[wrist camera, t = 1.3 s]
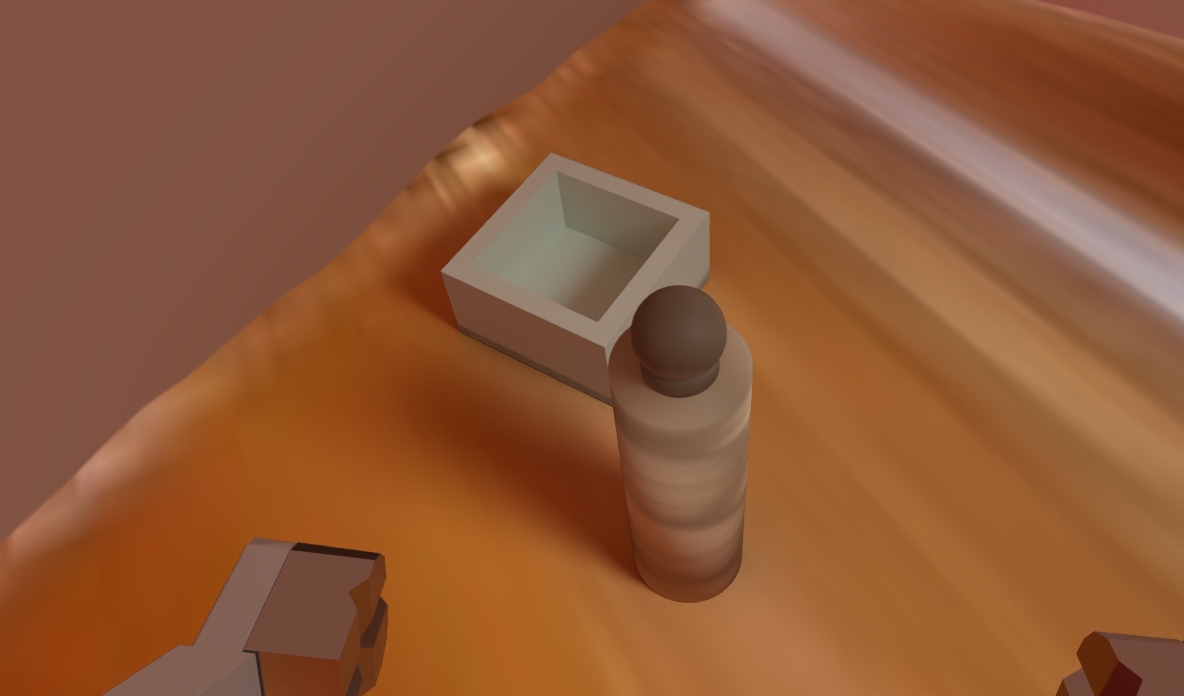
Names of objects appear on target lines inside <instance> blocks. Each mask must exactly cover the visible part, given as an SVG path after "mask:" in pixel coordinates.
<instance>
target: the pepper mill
mask: <svg viewBox="0 0 1184 696" xmlns="http://www.w3.org/2000/svg"><path fill="white" fill-rule="evenodd" d="M608 376H609V383H610V390H611V397H612V404H613V411H614V418H615V425H616V432H617V439H618V446H619V453H620V460H621V467H622V474H623V481H624V488H625V495H626V502H627V509H628V516H629V523H630V530H631V537H632V544H633V551H634V558H635V564H636V567H637V570H638V572H639V574H640V576H641V578H642V579H643V581H644V582H645V583H646V584H647V585H648V586H649V587H650V588H651V589H652V590H653V591H654V592H656V593H657V594H659V595H661V596H663V597H665V598H667V599H670V600H673V601H677V602H684V603H694V602H700V601H704V600H708V599H710V598H713V597H715V596H717V595H718V594H720V593H721V592H723V591H724V590H725V589H726V588H727V587H728V586H729V585H730V584H731V583H732V582H733V580H734V579H735V577H736V575H737V573H738V571H739V568H740V565H741V559H742V543H743V527H744V510H745V493H746V476H747V460H748V443H749V426H750V410H751V393H752V376H753V361H752V356H751V352H750V349H749V347H748V345H747V343H746V341H745V340H744V338H743V337H742V336H741V335H740V333H739V332H738V331H737V330H736V329H735V328H733V327H732V326H731V325H730V324H728V323H727V322H725V318H724V315H723V313H722V311H721V309H720V307H719V306H718V304H717V303H716V302H715V301H714V300H713V299H712V298H711V297H710V296H709V295H708V294H706V293H704V292H703V291H701V290H699V289H697V288H694V287H690V286H685V285H673V286H667V287H664V288H661V289H658V290H657V291H655V292H653V293H652V294H650V295H649V296H648V297H646V298H645V299H644V300H643V302H642V303H641V304H640V305H639V307H638V308H637V310H636V312H635V314H634V316H633V320H632V324H631V326H630V327H629V328H628V329H627V330H626V331H624V333H623V334H622V335H621V336H620V337H619V338H618V340H617V341H616V343H615V344H614V347H613V349H612V351H611V354H610V357H609V362H608Z"/></svg>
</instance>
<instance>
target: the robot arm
mask: <svg viewBox="0 0 1184 696" xmlns="http://www.w3.org/2000/svg"><path fill="white" fill-rule="evenodd" d="M385 580H386V567H385V556H383V555H382V554H381V553H373V552H366V551H359V550H351V549H344V548H336V547H329V546H322V545H314V544H307V543H299V542H298V543H293V542H286V541H278V540H271V539H264V538H256V537H255V538H254V539H253V540H252V541H251V542H250V543H249V544H248V545H247V546H245V548H244V550H243V551H242V553H241V555H240V557H239V559H238V561H237V563H236V564H235V566H234V568H233V570H232V572H231V574H230V576H229V578H228V579H227V581H226V583H225V585H224V587H223V589H222V591H221V592H220V594H219V596H218V598H217V600H216V602H215V604H214V606H213V607H212V609H211V611H210V613H209V615H208V617H207V619H206V620H205V622H204V624H203V626H202V628H201V630H200V632H199V634H198V635H197V637H196V639H195V641H194V643H193V645H192V646H187V645H178V646H176V647H175V648H173V649H172V650H170V651H169V652H167V653H166V654H164V655H163V656H161V657H159V658H158V659H156V660H155V661H153V662H152V663H150V664H149V665H147V666H146V667H144V668H143V669H141V670H140V671H138V672H137V673H135V674H133V675H132V676H130V677H129V678H127V679H126V680H124V681H123V682H121V683H120V684H118V685H117V686H115V687H114V688H112V689H111V690H109V691H108V692H106V693H104V694H103V695H101V696H364V694H365V693H366V692H368V691H369V690H370V689H371V688H373V687H374V686H375V685H376V682H377V679H378V675H379V672H380V669H381V665H382V661H383V656H384V650H385V645H386V640H387V628H388V604H387V603H386V602H385V601H384V600H383V599H382V598H381V597H380V595H381V592H382V589H383V586H384V583H385ZM1076 654H1077V656H1078V659H1079V661H1080V663H1081V666H1082V668H1081V669H1080V670H1078V671H1076V672H1075V673H1073V674H1071V675H1069V676H1068V677H1066V678H1064V679H1063V680H1062V682H1061V685H1060V687H1059V689H1058V691H1057V694H1056V696H1184V641H1180V640H1177V639H1168V638H1158V637H1148V636H1138V635H1128V634H1118V633H1108V632H1098V631H1094V632H1092V633H1091V634H1090V635H1088V636H1087V637H1085V638H1084V640H1083V641H1082V643H1081V645H1080V647H1079V649H1078V651H1077V653H1076Z"/></svg>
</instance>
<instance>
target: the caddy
mask: <svg viewBox="0 0 1184 696" xmlns="http://www.w3.org/2000/svg"><path fill="white" fill-rule="evenodd" d="M440 272H441V275H442V278H443V281H444V284H445V287H446V290H447V293H448V296H449V299H450V302H451V305H452V308H453V311H454V314H455V317H456V320H457V323H458V326H459V329H460V332H462V333H464V334H466V335H468V336H470V337H472V338H474V339H476V340H478V341H480V342H482V343H484V344H487V345H489V346H491V347H493V348H495V349H497V350H499V351H501V352H503V353H505V354H507V355H509V356H511V357H513V358H515V359H517V360H519V361H521V362H523V363H525V364H527V365H529V366H531V367H533V368H535V369H538V370H540V371H542V372H544V373H546V374H548V375H550V376H552V377H554V378H556V379H558V380H560V381H562V382H564V383H566V384H568V385H570V386H572V387H574V388H576V389H578V390H580V391H582V392H584V393H587V394H589V395H591V396H593V397H595V398H597V399H599V400H601V401H603V402H605V403H607V404H609V405H611V406H613V404H612V397H611V390H610V383H609V376H608V362H609V357H610V354H611V351H612V349H613V347H614V344H615V343H616V341H617V340H618V338H619V337H620V336H621V335H622V334H623V333H624V331H626V330H627V329H628V328H629V327H630V326H631V324H632V320H633V316H634V314H635V312H636V310H637V308H638V307H639V305H640V304H641V303H642V302H643V300H644V299H645V298H646V297H648V296H649V295H650V294H652V293H653V292H655V291H657V290H658V289H661V288H664V287H667V286H673V285H685V286H690V287H694V288H697V289H699V290H700V288H701V287H702V286H703V284H704V283H705V282H706V280H707V279H708V278H709V212H707V211H705V210H702V209H699V208H697V207H694V206H691V205H689V204H686V203H683V202H681V201H678V200H676V199H673V198H670V197H668V196H665V195H662V194H660V193H657V192H654V191H652V190H649V189H646V188H644V187H641V186H639V185H636V184H633V183H631V182H628V181H625V180H623V179H620V178H617V177H615V176H612V175H609V174H607V173H604V172H602V171H599V170H596V169H594V168H591V167H588V166H586V165H583V164H580V163H578V162H575V161H572V160H570V159H567V158H565V157H562V156H559V155H557V154H554V153H550V155H549V156H548V157H547V158H546V159H545V160H544V161H543V162H542V163H541V164H540V165H539V166H538V167H537V168H536V169H535V171H534V172H533V173H532V174H531V175H530V176H529V177H528V178H527V179H526V180H525V181H524V182H523V183H522V184H521V186H520V187H519V188H518V189H517V190H516V191H515V192H514V193H513V194H512V195H511V196H510V197H509V198H508V199H507V200H506V202H505V203H504V204H503V205H502V206H501V207H500V208H499V209H498V210H497V211H496V212H495V213H494V214H493V215H492V217H491V218H490V219H489V220H488V221H487V222H486V223H485V224H484V225H483V226H482V227H481V228H480V229H479V230H478V231H477V233H476V234H475V235H474V236H473V237H472V238H471V239H470V240H469V241H468V242H467V243H466V244H465V245H464V246H463V248H462V249H461V250H460V251H459V252H458V253H457V254H456V255H455V256H454V257H453V258H452V259H451V260H450V261H449V263H448V264H447V265H446V266H445V267H444V268H443V269H442V270H441V271H440Z"/></svg>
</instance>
